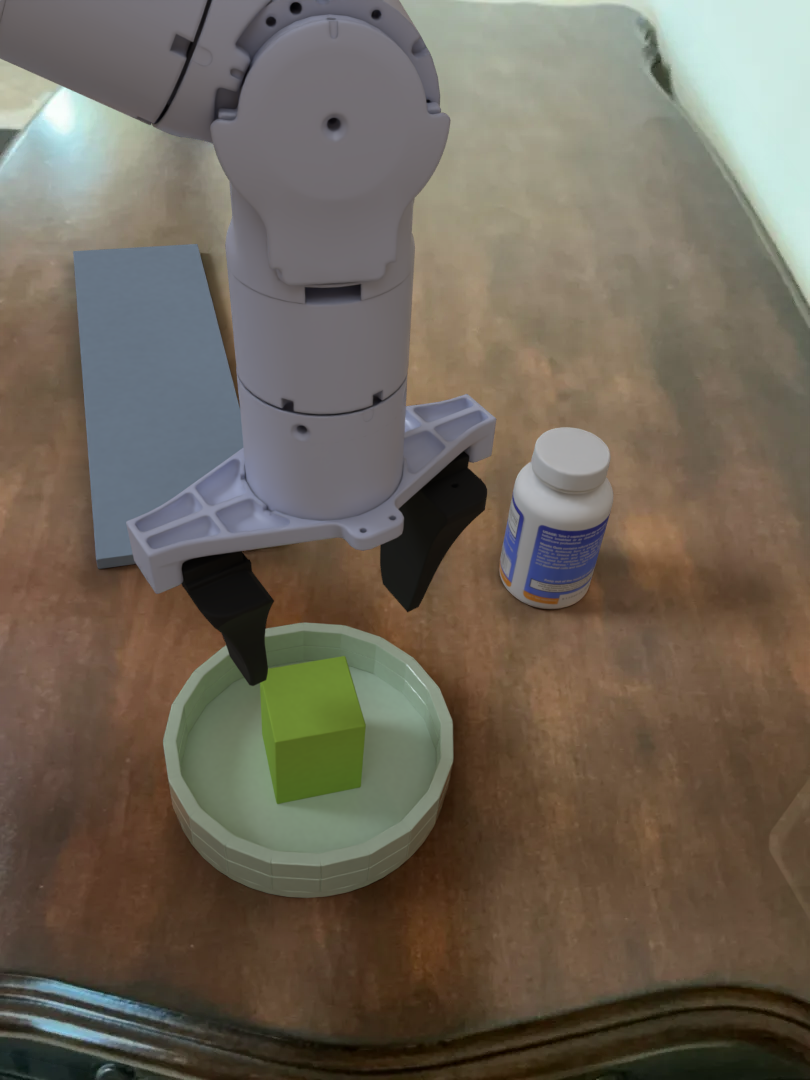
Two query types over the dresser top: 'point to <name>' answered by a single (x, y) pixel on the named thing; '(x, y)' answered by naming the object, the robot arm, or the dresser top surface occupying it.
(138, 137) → the dresser top surface
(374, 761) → the basin
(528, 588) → the pill bottle
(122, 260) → the mat
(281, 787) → the cube
